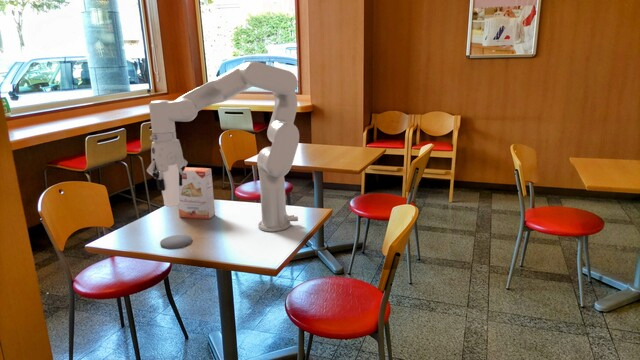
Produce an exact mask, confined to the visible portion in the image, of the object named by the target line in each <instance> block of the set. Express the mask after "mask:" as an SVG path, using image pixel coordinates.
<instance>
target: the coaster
mask: <svg viewBox="0 0 640 360" xmlns="http://www.w3.org/2000/svg"><path fill="white" fill-rule="evenodd" d="M191 243H193V238H192V236H190V235H187V234H176V235H170V236H167V237H164V238H163V239H161V240H160V241H159V245H160V247H161V248H163V249H168V250H170V249H171V250H172V249H174V250H175V249H181V248H184V247H187V246H188V245H190V244H191Z"/></svg>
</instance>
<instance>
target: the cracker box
mask: <svg viewBox="0 0 640 360" xmlns="http://www.w3.org/2000/svg"><path fill="white" fill-rule="evenodd" d="M212 174H213V173H212V168H207V167H187V166H186V167H185V169H184V171H183V174H182V186H179V197H180V204H179V205H177V207H178V216H179V218H185V219H186V218H188V219H200V220H201V219H202V220H203V219H204V220H210V219H211V218H213V217H214V216H215V215H216V209H215V199H214V196H215V195H214V186H213V176H212Z"/></svg>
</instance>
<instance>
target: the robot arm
mask: <svg viewBox="0 0 640 360" xmlns="http://www.w3.org/2000/svg"><path fill="white" fill-rule="evenodd" d="M252 87H254V88H257V89H259V90H260V89H261V90H265V91H268V92H271V93H272V94H273V98H274V105H273V111H272V115H271V118H270V121H269V124H268V128H267V130H266V131H267V132H266V135H267V138H268V140H269V141H270V142H271V146H266V147H264V148H262V149H261V150H260V151H259V153H258V155H257V159H256V162H257V164H256V165H257V170H258V176H259V177H258V178H259V191H260V207H261V211H260V212H261V221H259V223H258V224H257V226H258V229H260V230H262V231H265V232H280V231H284V230H286V229H288V228H290V227H291V222H299V217H298V216H297V215H296V216H295V214H292V215H288V213H287V207H286V206H287V205H286V184H285V183H286V182H285V176H286V175H287V174H289V171H291V168H292V166H293V164H294V160H295V157H296V153H297V150H298V147H299V143H300V131H299V129H298V127H297V126H296V125H295V123H294V122H295V119H296V115H297V110H298V97H297V94H296V90H297V88H298V78H297V76H296V75H295V74H294V73H293V72H292V71H290V70H286V69H283V68H280V67H276V66H272V65H271V64H270V65H269V64H266V63H263V62H259V61H256V60H255V61H254V60H253V61H252V60H251V61H246V62H243V63H241V64H239V65H237V66H235V67H234V68H232V69H230V70H227V71H226V72H224V73H222V74H220V75H219V76H217V77H215V78H213V79H212V80H211V79H210V80H209V81H207V82H206V83H204V84H202V85H200V86H198V87H196V88H194V89H193V90H190V91H188V92H187V93H185V94H183V95H181V96H179V97H178V98H176V99H175V100H174V101H173V100H171V101H170V100H168V99H160V100H159V99H157V100H151V102H149V105H148V108H149V116H150V117H149V118H150V124H151V125H150V126H151V132H152V134H151V135H150V136H149V139H150V141H151V140H152V142H151V147H150V148H151V149H150V150H151V151H150V158H151V163H150V164H149V166H148V167H147V169H145V170H146V172H147V173H148V174H149V175H150V176H151V177H153V178H154V179H155V181H156V188H157V189H158V190H159V191H161V192H162V191H164V190H165V187H164V180H163V179H162V176H163V172H165V171H168V166H169V165H175V164H177V168H178V169H179V186H182V174H183V171H184V169H185V167H187V165H188V161H187V159H185V158H184V156H183V155H184V154H183V149H182V146H181V142H180V139H177V132H176V124H175V123H176V122H185V123H186V122H191V121H193V120H194V119H195V118H196V117H197V116H198V112H199V111H201V110H203V109H205V108H207V107H210V106H212V105H216V104H220V103H223V102H227V101H229V100H230V99H232V98H235V97H236V96H237V95H239V94H241V93H244V92H245V91H247V90H249V89H250V88H252Z"/></svg>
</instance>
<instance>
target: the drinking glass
mask: <svg viewBox="0 0 640 360" xmlns="http://www.w3.org/2000/svg"><path fill="white" fill-rule="evenodd" d="M162 179H163V180H164V187H165V190H164V191H162V190H161V195H162V198H163V204H164V206H165V207H168V208H172V207H178V205H179V204H180V197H179V169H178V168H177V164H175V165H169V166H168V171H165V172H163V176H162Z"/></svg>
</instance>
